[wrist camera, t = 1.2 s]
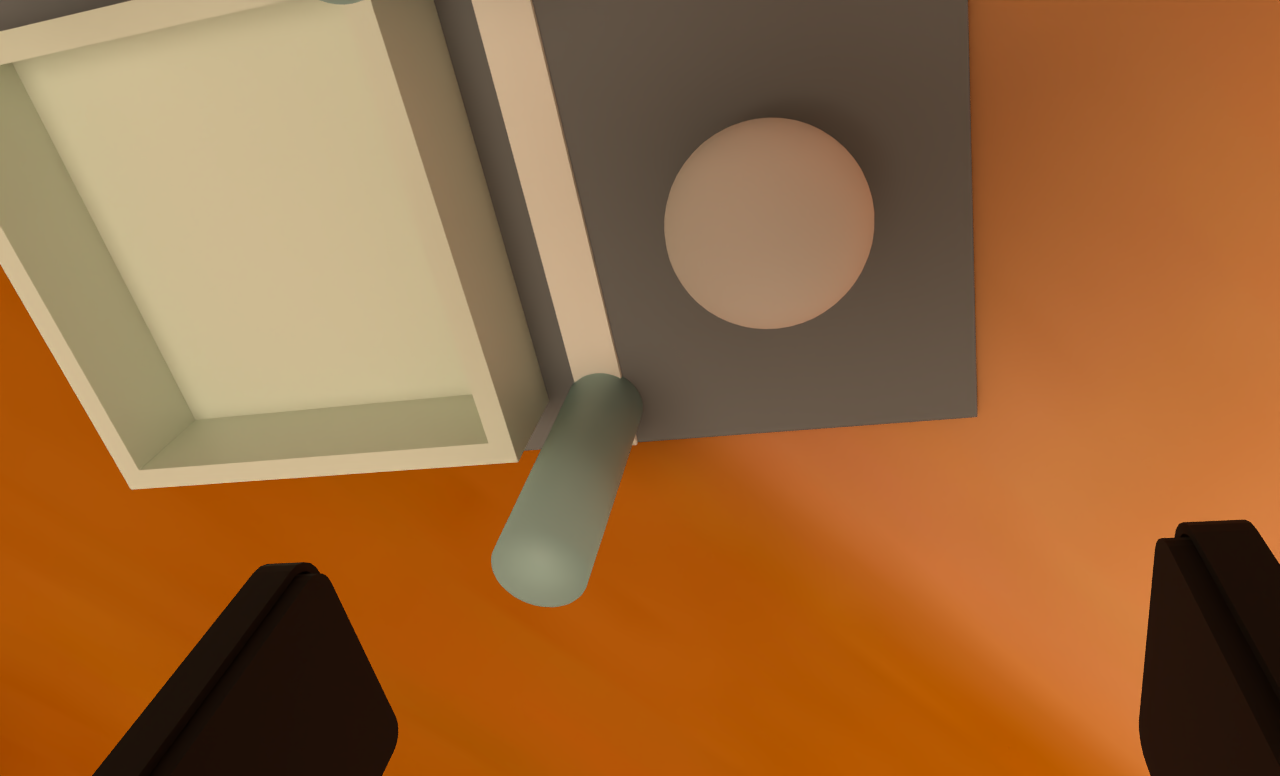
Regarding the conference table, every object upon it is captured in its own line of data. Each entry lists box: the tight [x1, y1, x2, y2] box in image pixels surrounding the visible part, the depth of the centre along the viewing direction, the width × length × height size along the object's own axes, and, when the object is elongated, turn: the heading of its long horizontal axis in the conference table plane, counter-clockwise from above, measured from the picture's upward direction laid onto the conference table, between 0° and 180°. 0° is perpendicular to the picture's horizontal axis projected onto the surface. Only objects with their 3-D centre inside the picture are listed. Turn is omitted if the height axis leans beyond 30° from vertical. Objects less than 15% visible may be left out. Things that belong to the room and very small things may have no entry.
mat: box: [0, 0, 977, 450], centre depth 25 cm, size 17×27×1 cm, turn 102°
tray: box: [0, 0, 549, 489], centre depth 25 cm, size 13×13×3 cm
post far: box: [491, 373, 643, 607], centre depth 25 cm, size 2×2×8 cm
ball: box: [664, 117, 874, 329], centre depth 21 cm, size 5×5×5 cm
